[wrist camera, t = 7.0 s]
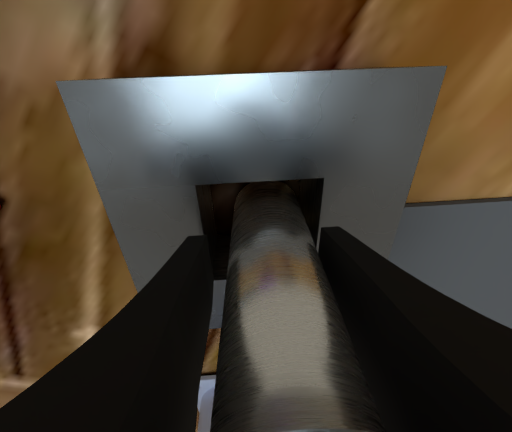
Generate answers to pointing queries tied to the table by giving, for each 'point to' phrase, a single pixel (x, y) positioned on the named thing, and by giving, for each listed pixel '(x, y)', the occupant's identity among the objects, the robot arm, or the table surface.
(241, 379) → the pin
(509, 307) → the mat
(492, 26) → the table surface
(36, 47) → the table surface
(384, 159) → the square hole block
